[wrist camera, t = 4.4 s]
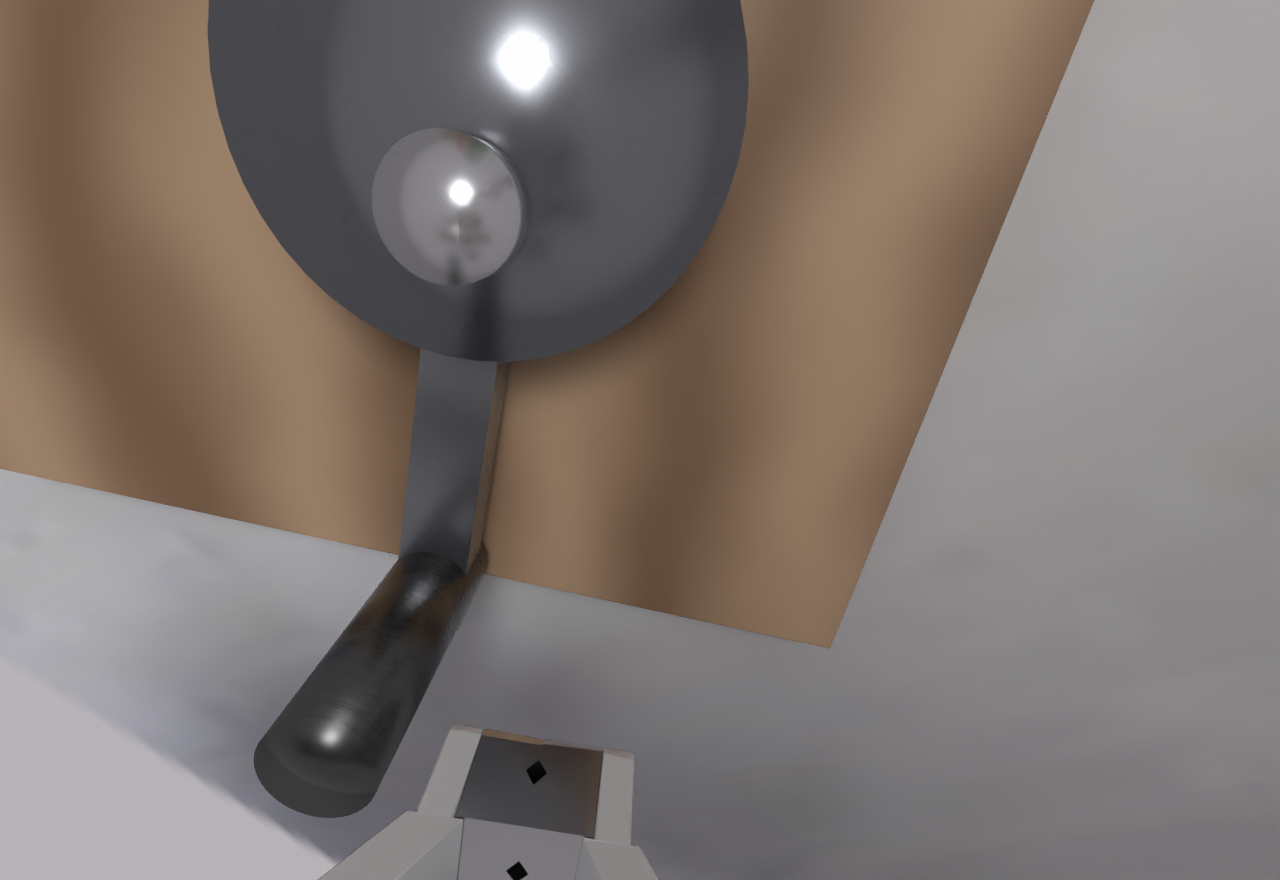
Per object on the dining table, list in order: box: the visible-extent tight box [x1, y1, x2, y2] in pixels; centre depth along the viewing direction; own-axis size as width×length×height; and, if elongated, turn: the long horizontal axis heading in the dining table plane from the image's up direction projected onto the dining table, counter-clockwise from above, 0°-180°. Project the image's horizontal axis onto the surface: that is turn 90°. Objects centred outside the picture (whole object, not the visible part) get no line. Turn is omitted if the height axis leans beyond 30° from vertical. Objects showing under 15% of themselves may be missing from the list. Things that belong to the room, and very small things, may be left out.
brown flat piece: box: [0, 0, 1094, 648], centre depth 13 cm, size 23×24×4 cm
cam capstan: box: [207, 0, 749, 818], centre depth 11 cm, size 16×9×7 cm, turn 167°
